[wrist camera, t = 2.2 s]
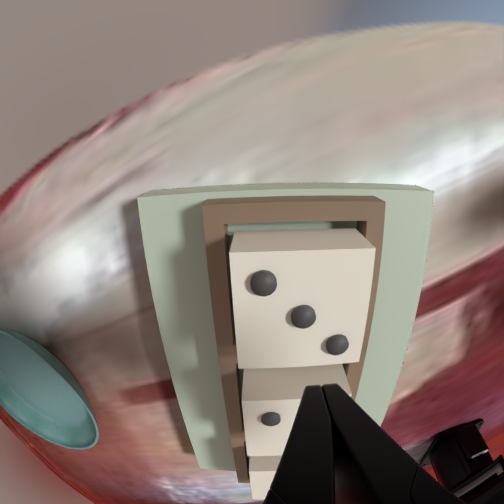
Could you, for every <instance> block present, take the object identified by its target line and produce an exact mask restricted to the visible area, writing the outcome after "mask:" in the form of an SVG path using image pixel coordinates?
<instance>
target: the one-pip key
mask: <svg viewBox="0 0 504 504" xmlns="http://www.w3.org/2000/svg"><path fill="white" fill-rule="evenodd" d="M281 457H282V455H279V456H250V460H249V475H250V484H251V492H252V500H265V497H266V495H267V492H268V490H269V489H270V485H271V483H272V480H273V478H274V475H275V473H276V470H277V467H278V465H279V462H280V459H281Z"/></svg>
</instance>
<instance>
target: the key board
mask: <svg viewBox="0 0 504 504" xmlns="http://www.w3.org/2000/svg"><path fill="white" fill-rule="evenodd" d="M433 199H434V191H431V190H428V189H425V188H422V187H419V186H416V185H400V184H372V183H272V184H243V185H222V186H205V187H190V188H176V189H164V190H152V191H149V192H147V193H145V194H143V195H141V196H139V197H137V201H138V209H139V217H140V225H141V232H142V239H143V245H144V252H145V258H146V264H147V270H148V275H149V281H150V286H151V291H152V297H153V302H154V306H155V311H156V316H157V321H158V325H159V330H160V334H161V338H162V342H163V347H164V351H165V355H166V359H167V363H168V367H169V370H170V374H171V378H172V382H173V385H174V389H175V392H176V396H177V399H178V403H179V406H180V409H181V413H182V416H183V419H184V422H185V425H186V428H187V432H188V435H189V438H190V441H191V444H192V446H193V449H194V452H195V455H196V458H197V461H198V463H199V466H200V469H208V470H227V471H236V472H237V477H238V483H250V475H249V460H250V456H247V448H246V439H245V430H244V420H243V410H242V387H243V373H244V369H238V358H237V346H236V335H235V323H234V311H233V298H232V285H231V272H230V258H229V251H230V248H231V244H232V240H233V236H234V233H235V231H264V230H299V229H346V228H356V229H357V230H358V231H359V232H360V233H361V234H362V235H363V236H364V237H365V238H366V239H367V240H368V241H369V242H370V243H371V244H372V245H373V246H374V247H375V248H376V251H375V261H374V270H373V279H372V287H371V294H370V301H369V308H368V315H367V321H366V327H365V333H364V338H363V344H362V349H361V354H360V359H359V362H353V363H343V364H342V365H343V368H344V371H345V374H346V377H347V380H348V383H349V387H350V390H351V393H352V395H351V398H352V399H353V400H354V401H355V402H356V403H357V404H358V405H359V406H360V407H361V408H362V409H363V410H364V411H365V412H366V413H367V414H368V415H369V416H370V417H371V418H372V419H373V420H374V421H375V422H376V423H377V424H378V425H379V426H380V427H381V424H382V422H383V419H384V417H385V414H386V411H387V409H388V406H389V403H390V400H391V398H392V395H393V392H394V389H395V386H396V383H397V380H398V377H399V374H400V371H401V367H402V364H403V361H404V357H405V354H406V351H407V347H408V343H409V340H410V336H411V332H412V328H413V324H414V320H415V316H416V311H417V307H418V302H419V297H420V293H421V288H422V282H423V277H424V271H425V265H426V259H427V252H428V245H429V238H430V230H431V221H432V211H433Z"/></svg>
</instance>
